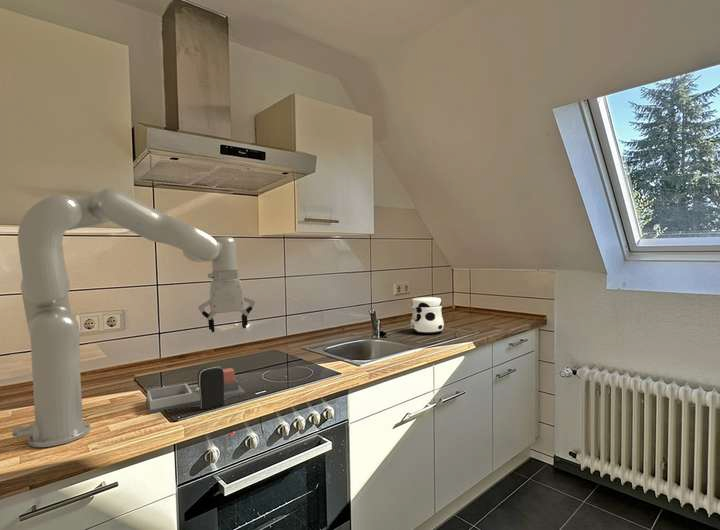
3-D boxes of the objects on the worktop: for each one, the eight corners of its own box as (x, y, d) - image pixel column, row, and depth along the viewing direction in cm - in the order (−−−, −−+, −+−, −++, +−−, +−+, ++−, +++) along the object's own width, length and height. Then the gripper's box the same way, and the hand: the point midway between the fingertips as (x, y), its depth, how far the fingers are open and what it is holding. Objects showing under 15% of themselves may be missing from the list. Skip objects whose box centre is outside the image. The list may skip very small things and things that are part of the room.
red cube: (222, 385, 130) (221, 372, 130) (219, 382, 133) (218, 369, 133) (235, 382, 132) (234, 370, 132) (231, 379, 135) (231, 367, 135)
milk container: (448, 330, 222) (447, 297, 221) (436, 336, 207) (435, 301, 206) (418, 328, 231) (418, 296, 230) (405, 334, 216) (404, 300, 216)
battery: (220, 401, 124) (219, 363, 124) (225, 404, 121) (224, 366, 121) (197, 407, 120) (195, 368, 119) (201, 411, 117) (200, 371, 116)
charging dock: (149, 414, 116) (148, 401, 115) (146, 401, 126) (145, 390, 126) (245, 394, 130) (244, 383, 129) (235, 384, 140) (234, 374, 140)
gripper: (197, 278, 123) (200, 335, 124) (255, 274, 131) (258, 328, 132) (195, 277, 130) (198, 331, 131) (250, 273, 138) (253, 324, 138)
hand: (228, 329), depth 131 cm, fingers open, 9 cm apart
